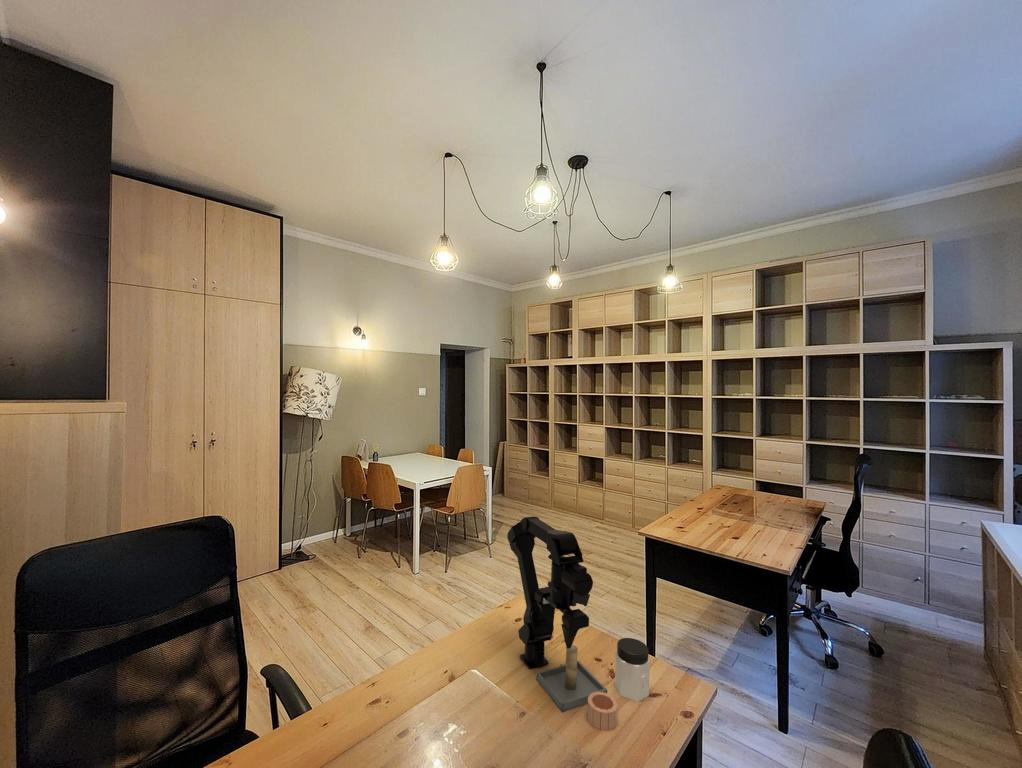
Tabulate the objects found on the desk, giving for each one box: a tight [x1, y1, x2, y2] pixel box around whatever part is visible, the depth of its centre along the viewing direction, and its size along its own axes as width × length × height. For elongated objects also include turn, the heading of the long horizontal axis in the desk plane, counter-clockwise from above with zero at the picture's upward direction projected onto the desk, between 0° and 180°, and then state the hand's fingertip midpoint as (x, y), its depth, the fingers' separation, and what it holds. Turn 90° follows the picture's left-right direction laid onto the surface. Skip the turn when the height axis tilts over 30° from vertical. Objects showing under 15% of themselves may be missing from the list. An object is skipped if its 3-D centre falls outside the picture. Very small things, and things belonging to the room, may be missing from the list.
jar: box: [614, 637, 651, 703], centre depth 110 cm, size 9×8×12 cm
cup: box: [586, 692, 619, 731], centre depth 99 cm, size 7×7×4 cm
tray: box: [535, 660, 608, 713], centre depth 110 cm, size 13×14×2 cm
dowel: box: [565, 644, 579, 690], centre depth 110 cm, size 3×3×10 cm
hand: (559, 638), depth 111 cm, fingers open, 9 cm apart
